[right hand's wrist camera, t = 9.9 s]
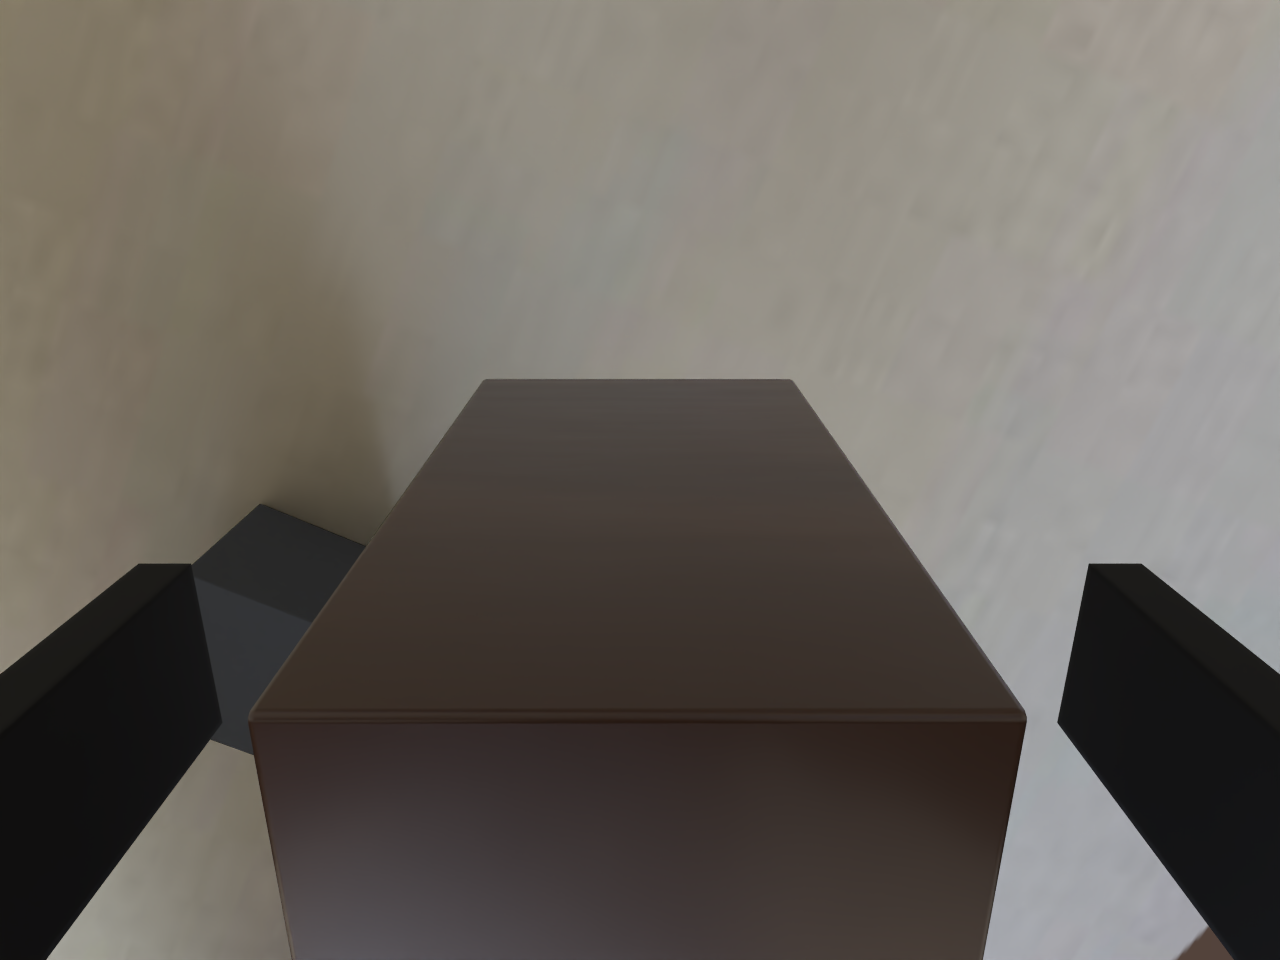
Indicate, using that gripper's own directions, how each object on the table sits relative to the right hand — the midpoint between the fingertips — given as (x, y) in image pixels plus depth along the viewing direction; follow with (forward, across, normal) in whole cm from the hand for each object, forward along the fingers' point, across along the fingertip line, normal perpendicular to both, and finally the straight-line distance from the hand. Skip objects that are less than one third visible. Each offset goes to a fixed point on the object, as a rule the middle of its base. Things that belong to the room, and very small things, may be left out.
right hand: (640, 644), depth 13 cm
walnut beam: (+2, 0, -8) cm, 9 cm away
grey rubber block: (+15, -11, -7) cm, 20 cm away
